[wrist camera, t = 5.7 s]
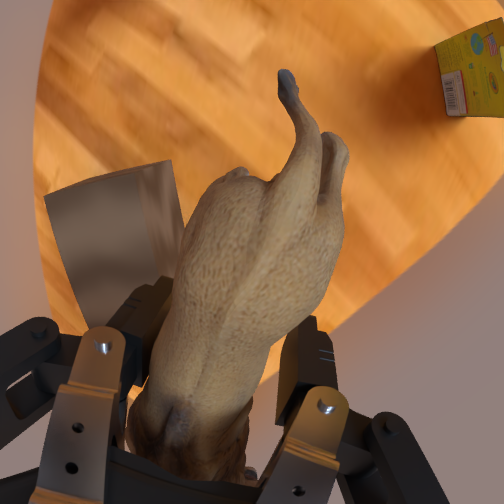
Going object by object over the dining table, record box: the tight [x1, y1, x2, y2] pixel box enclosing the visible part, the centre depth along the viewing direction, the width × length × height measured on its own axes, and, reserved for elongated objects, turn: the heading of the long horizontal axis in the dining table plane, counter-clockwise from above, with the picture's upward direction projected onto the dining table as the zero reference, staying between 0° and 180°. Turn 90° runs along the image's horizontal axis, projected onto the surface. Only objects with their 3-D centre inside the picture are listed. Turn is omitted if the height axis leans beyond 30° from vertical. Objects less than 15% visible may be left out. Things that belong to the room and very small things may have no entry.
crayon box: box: [434, 17, 504, 118], centre depth 17 cm, size 7×3×12 cm, turn 10°
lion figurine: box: [125, 69, 349, 487], centre depth 8 cm, size 15×5×9 cm, turn 171°
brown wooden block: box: [44, 160, 185, 329], centre depth 29 cm, size 15×10×8 cm, turn 8°
